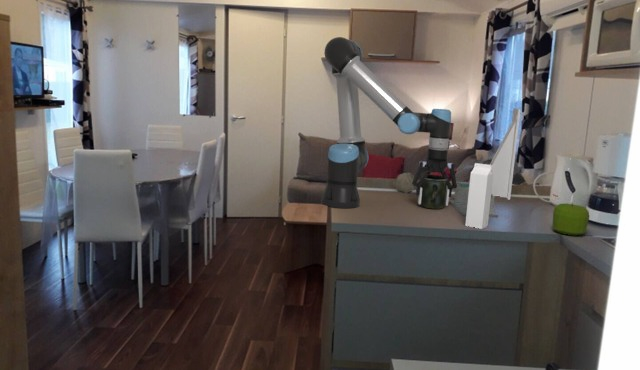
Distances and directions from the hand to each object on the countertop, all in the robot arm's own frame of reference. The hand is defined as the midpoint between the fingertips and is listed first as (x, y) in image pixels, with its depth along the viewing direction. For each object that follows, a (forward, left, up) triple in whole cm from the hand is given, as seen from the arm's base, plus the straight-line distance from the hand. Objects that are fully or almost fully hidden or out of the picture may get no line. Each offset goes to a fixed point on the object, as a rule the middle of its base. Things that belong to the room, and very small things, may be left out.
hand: (432, 204), depth 211 cm
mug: (0, 0, -2) cm, 2 cm away
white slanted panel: (+36, +37, -2) cm, 51 cm away
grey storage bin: (+16, +1, -1) cm, 16 cm away
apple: (+41, -30, -2) cm, 51 cm away
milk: (+10, -27, -2) cm, 28 cm away
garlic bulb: (-7, +32, -2) cm, 32 cm away
